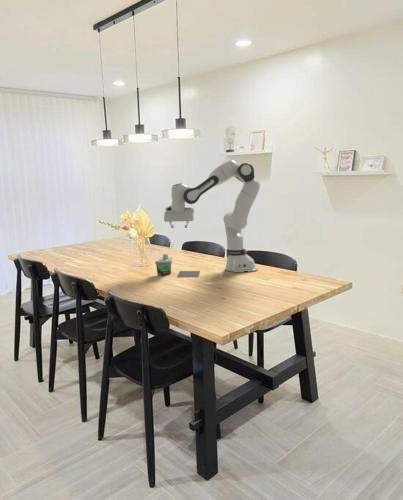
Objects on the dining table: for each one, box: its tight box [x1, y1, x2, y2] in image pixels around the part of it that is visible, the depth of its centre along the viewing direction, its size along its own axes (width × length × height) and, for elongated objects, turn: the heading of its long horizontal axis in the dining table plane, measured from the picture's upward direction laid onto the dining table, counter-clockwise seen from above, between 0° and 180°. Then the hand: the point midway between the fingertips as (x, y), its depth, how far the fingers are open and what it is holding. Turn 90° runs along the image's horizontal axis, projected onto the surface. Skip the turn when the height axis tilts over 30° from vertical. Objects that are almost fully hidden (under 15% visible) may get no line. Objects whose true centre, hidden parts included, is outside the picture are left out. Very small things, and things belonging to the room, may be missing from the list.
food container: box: [155, 260, 173, 277], centre depth 261 cm, size 12×6×10 cm, turn 130°
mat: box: [176, 270, 201, 279], centre depth 261 cm, size 14×17×1 cm
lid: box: [158, 253, 173, 263], centre depth 259 cm, size 8×13×4 cm, turn 179°
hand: (179, 227), depth 271 cm, fingers open, 8 cm apart
